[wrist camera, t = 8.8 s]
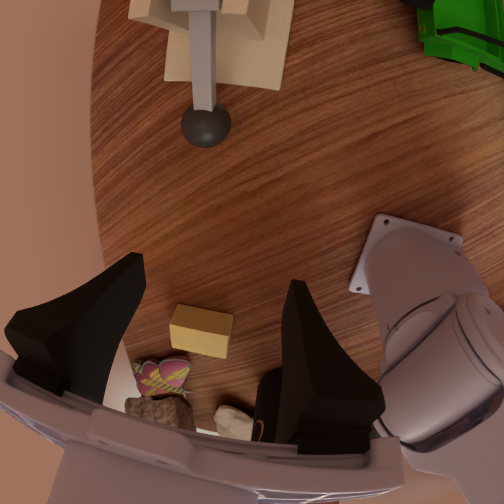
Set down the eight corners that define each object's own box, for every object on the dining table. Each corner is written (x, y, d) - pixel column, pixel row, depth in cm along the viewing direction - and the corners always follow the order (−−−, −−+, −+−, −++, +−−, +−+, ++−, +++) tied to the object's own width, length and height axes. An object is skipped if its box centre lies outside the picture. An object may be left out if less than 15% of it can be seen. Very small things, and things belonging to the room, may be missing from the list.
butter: (233, 314, 30) (228, 336, 27) (230, 338, 32) (226, 359, 29) (177, 303, 30) (169, 323, 27) (179, 327, 32) (171, 347, 30)
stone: (121, 374, 45) (201, 383, 45) (142, 428, 51) (210, 436, 51) (95, 427, 33) (189, 444, 33) (127, 475, 39) (203, 488, 39)
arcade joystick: (235, 131, 18) (224, 161, 17) (191, 126, 18) (177, 155, 17) (244, -45, 8) (229, -44, 6) (182, -43, 8) (156, -39, 6)
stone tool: (240, 448, 55) (238, 467, 51) (190, 391, 42) (183, 417, 37) (297, 447, 53) (296, 466, 48) (271, 388, 39) (269, 418, 35)
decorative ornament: (151, 345, 31) (220, 383, 34) (156, 332, 33) (223, 370, 36) (115, 382, 40) (167, 410, 42) (119, 372, 41) (170, 400, 44)
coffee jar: (252, 362, 34) (231, 502, 19) (340, 359, 32) (345, 504, 17) (263, 400, 40) (249, 511, 25) (334, 398, 38) (334, 511, 23)
